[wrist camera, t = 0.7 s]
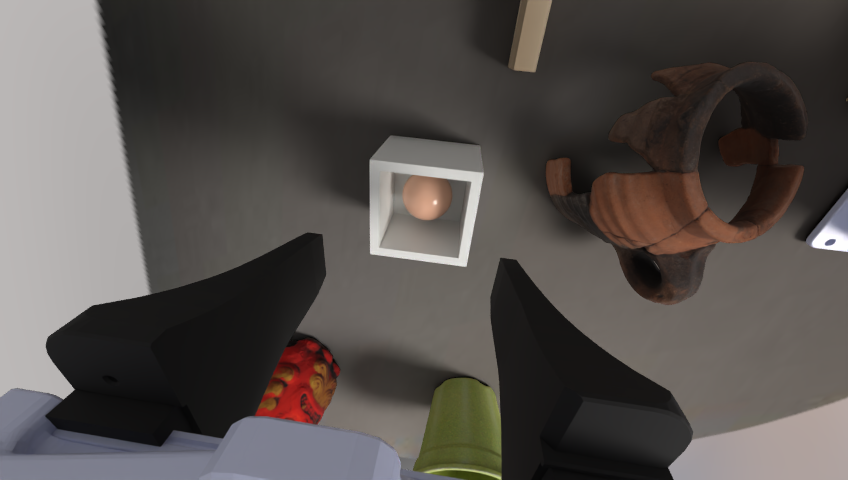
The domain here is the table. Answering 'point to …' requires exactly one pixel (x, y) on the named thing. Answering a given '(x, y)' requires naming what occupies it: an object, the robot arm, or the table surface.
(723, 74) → the brown hollow curved piece
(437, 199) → the terracotta bead
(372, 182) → the white square open box
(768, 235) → the table surface
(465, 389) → the plant pot
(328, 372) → the red clay folk toy
